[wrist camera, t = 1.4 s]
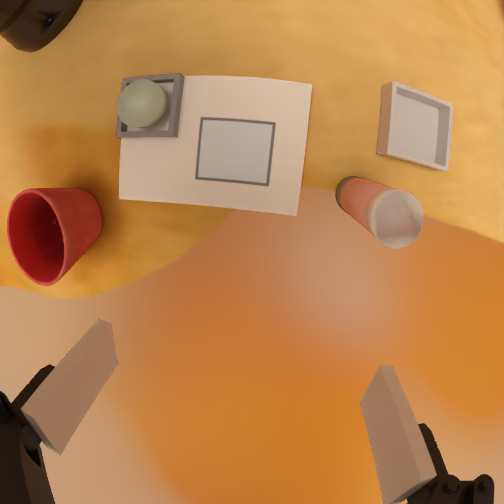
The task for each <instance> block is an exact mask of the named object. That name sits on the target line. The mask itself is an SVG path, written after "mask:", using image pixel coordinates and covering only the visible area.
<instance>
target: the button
mask: <svg viewBox="0 0 504 504" xmlns="http://www.w3.org/2000/svg"><path fill="white" fill-rule="evenodd" d="M167 106H168V97H167V93H166V91H165V90H164V89H163V88H162V87H161V86H160V85H158V84H156V83H155V82H153V81H151V80H147V79H140V80H136V81H134V82H132V83H130V84H129V85H127V86H126V87H125V88H124V89H123V91H122V92H121V94H120V96H119V98H118V101H117V114H118V116H119V118H120V120H121V121H122V122H123V123H124V124H126V125H128V126H131V127H137V128H147V127H150V126H153V125H155V124H156V123H157V122H159V121H160V120H161V118H162V117H163V116H164V114H165V112H166V110H167Z"/></svg>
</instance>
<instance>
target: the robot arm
mask: <svg viewBox="0 0 504 504" xmlns="http://www.w3.org/2000/svg"><path fill="white" fill-rule="evenodd" d="M81 1H82V0H0V35H1V36H2V37H3V38H4V39H6V40H7V41H8V42H9V43H10V44H12V45H13V46H14V47H15V48H16V49H18V50H21V51H26V52H33V51H36V50H38V49H40V48H42V47H43V46H45V45H46V44H47V43H49V42H50V41H51V40H52V39H53V38H54V37H55V36H56V35H57V34H58V33H59V32H60V31H61V30H62V29H63V28H64V27H65V26H66V24H67V23H68V22H69V20H70V19H71V18H72V16H73V15H74V13H75V12H76V10H77V9H78V7H79V5H80V3H81ZM117 365H118V360H117V355H116V349H115V344H114V338H113V331H112V325H111V323H109V322H106V321H102V320H98V321H97V322H96V323H95V324H94V325H93V326H92V327H91V328H90V329H89V330H88V331H87V332H86V334H85V335H84V336H83V337H82V338H81V339H80V340H79V341H78V342H77V343H76V344H75V346H74V347H73V348H72V349H71V350H70V351H69V352H68V353H67V354H66V356H65V357H64V358H63V359H62V360H61V361H60V363H59V364H58V365H57V366H56V367H54V366H52V365H50V364H49V365H47V366H46V367H44V368H42V369H40V371H39V372H38V373H37V374H36V375H35V376H34V378H32V380H31V381H30V383H29V384H27V385H26V387H25V388H24V389H23V390H22V391H21V392H20V394H19V395H18V396H17V397H16V398H15V400H14V401H13V402H12V403H10V401H9V400H8V398H7V396H6V395H5V394H4V393H3V392H1V391H0V504H55V501H54V498H53V495H52V492H51V488H50V485H49V481H48V478H47V473H46V469H45V465H44V461H43V456H42V451H41V448H40V445H39V444H40V443H41V441H42V442H43V443H44V444H45V446H46V447H47V448H49V449H51V450H52V451H54V452H55V453H57V454H59V455H61V454H62V452H63V450H64V449H65V447H66V445H67V443H68V442H69V440H70V439H71V437H72V435H73V434H74V432H75V430H76V429H77V427H78V426H79V424H80V422H81V421H82V419H83V417H84V416H85V414H86V412H87V411H88V409H89V408H90V406H91V405H92V403H93V402H94V400H95V398H96V397H97V395H98V394H99V392H100V391H101V389H102V387H103V386H104V384H105V383H106V382H107V380H108V379H109V377H110V375H111V374H112V373H113V371H114V369H115V368H116V367H117ZM360 406H361V410H362V413H363V417H364V421H365V425H366V429H367V432H368V436H369V440H370V445H371V449H372V453H373V457H374V462H375V465H376V470H377V475H378V479H379V484H380V489H381V494H382V499H383V504H399V503H401V502H402V501H404V500H405V499H407V501H408V503H407V504H493V503H494V482H493V479H492V478H491V477H490V476H489V475H486V474H483V475H480V476H479V477H477V478H476V479H475V480H473V481H460V480H459V479H458V478H457V477H455V476H454V475H449V474H448V472H447V470H446V467H445V464H444V462H443V459H442V456H441V454H440V451H439V449H438V448H437V444H436V442H435V441H434V437H433V434H432V432H431V430H430V429H429V428H428V427H427V426H426V424H424V423H422V424H418V423H417V421H416V418H415V416H414V414H413V411H412V409H411V407H410V404H409V402H408V399H407V397H406V395H405V393H404V390H403V388H402V386H401V384H400V382H399V379H398V377H397V375H396V373H395V371H394V368H393V366H379V368H378V370H377V372H376V374H375V375H374V377H373V379H372V381H371V383H370V385H369V387H368V388H367V390H366V392H365V394H364V396H363V397H362V399H361V401H360Z"/></svg>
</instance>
